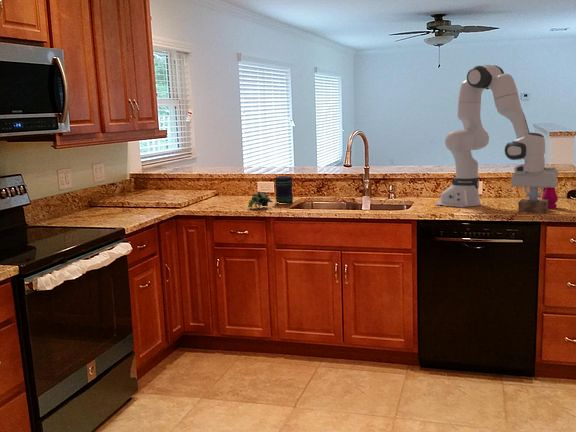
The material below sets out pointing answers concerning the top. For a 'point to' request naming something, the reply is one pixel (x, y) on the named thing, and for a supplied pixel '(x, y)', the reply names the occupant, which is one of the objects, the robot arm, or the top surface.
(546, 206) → the socket block
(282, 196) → the storage jar
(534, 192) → the peg
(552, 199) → the pepper mill
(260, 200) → the potted plant
